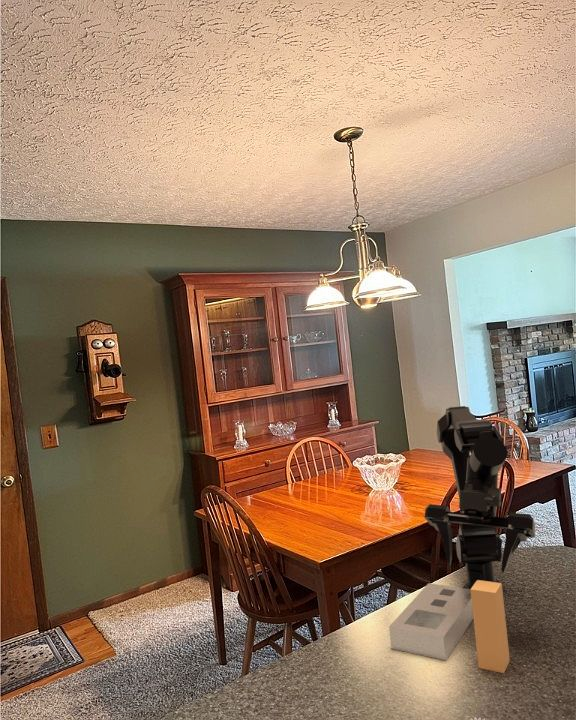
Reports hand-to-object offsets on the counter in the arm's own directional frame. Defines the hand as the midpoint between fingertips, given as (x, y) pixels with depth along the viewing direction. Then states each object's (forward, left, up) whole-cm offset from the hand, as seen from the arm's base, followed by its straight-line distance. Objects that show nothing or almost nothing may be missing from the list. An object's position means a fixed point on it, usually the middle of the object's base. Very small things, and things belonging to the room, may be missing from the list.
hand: (475, 568), depth 101 cm
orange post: (+6, +4, -13) cm, 15 cm away
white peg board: (-2, -9, -13) cm, 16 cm away
